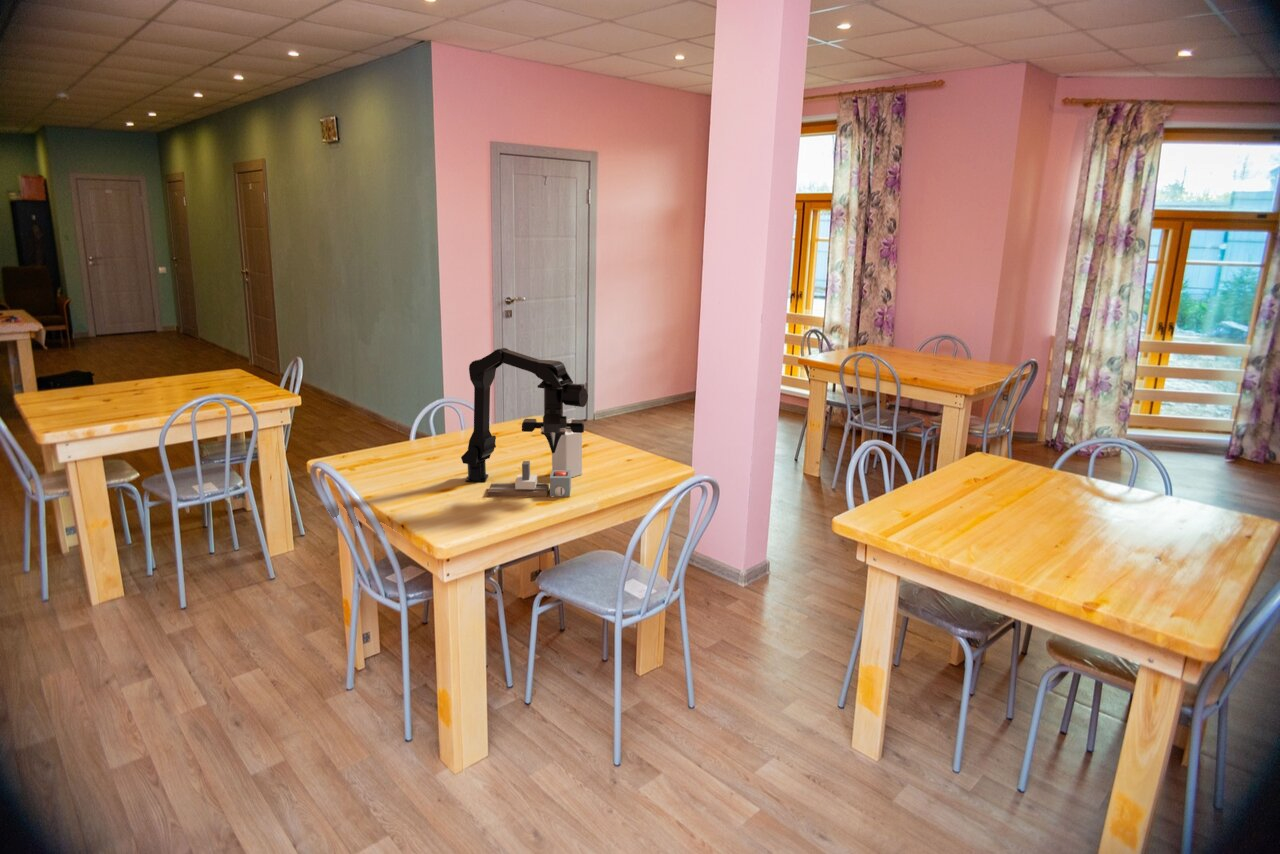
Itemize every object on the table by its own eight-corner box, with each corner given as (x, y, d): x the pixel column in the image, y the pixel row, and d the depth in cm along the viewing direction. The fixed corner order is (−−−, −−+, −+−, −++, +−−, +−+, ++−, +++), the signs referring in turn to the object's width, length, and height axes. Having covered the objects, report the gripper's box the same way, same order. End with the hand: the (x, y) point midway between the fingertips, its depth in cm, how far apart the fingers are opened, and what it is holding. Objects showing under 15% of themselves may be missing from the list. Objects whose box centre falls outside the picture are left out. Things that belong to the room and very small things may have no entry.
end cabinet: (552, 488, 240) (551, 470, 238) (571, 488, 240) (570, 470, 239) (549, 497, 232) (549, 478, 230) (569, 497, 232) (569, 478, 230)
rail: (491, 488, 239) (491, 481, 239) (548, 488, 240) (548, 481, 239) (487, 496, 231) (487, 489, 231) (546, 496, 232) (546, 490, 231)
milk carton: (552, 474, 253) (551, 419, 249) (568, 470, 258) (567, 415, 254) (566, 479, 249) (565, 423, 244) (582, 474, 254) (582, 419, 249)
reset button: (555, 479, 237) (555, 470, 236) (566, 480, 237) (566, 470, 236) (554, 483, 233) (554, 474, 233) (566, 483, 234) (566, 474, 233)
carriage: (518, 481, 238) (517, 459, 237) (537, 482, 239) (536, 459, 237) (515, 489, 232) (514, 465, 230) (535, 489, 232) (534, 466, 230)
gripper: (519, 408, 222) (519, 459, 226) (583, 410, 223) (582, 461, 227) (523, 400, 233) (524, 449, 236) (584, 401, 233) (584, 450, 237)
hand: (553, 452), depth 234 cm, fingers closed
